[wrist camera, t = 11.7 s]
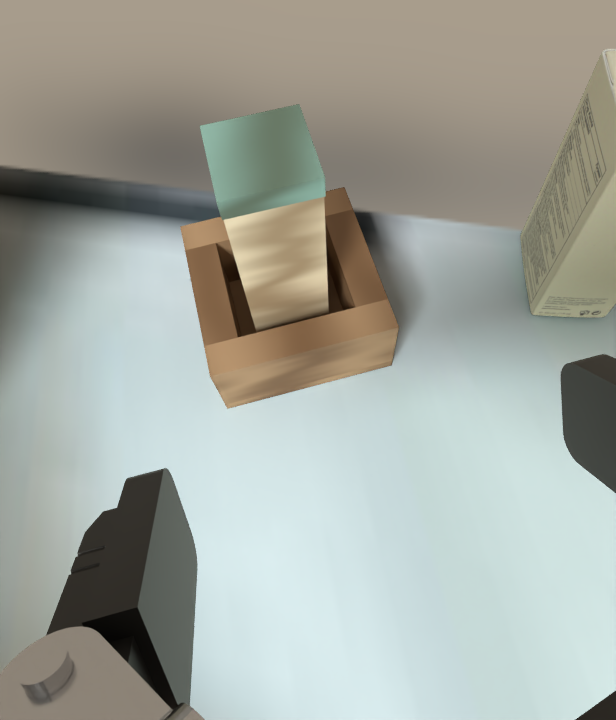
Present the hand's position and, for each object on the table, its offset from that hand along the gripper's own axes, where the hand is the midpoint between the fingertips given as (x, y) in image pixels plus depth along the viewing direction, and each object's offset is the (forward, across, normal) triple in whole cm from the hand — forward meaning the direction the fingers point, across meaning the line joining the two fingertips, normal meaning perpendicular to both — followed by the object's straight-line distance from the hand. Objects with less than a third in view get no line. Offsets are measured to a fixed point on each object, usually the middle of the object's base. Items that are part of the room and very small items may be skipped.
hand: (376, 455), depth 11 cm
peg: (+21, 0, +2) cm, 22 cm away
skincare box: (+21, -17, +4) cm, 27 cm away
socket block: (+22, 0, +3) cm, 22 cm away
